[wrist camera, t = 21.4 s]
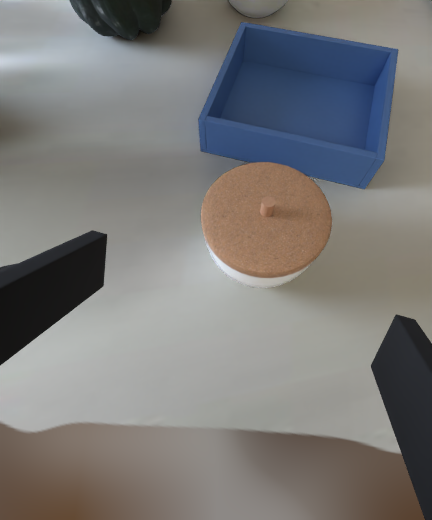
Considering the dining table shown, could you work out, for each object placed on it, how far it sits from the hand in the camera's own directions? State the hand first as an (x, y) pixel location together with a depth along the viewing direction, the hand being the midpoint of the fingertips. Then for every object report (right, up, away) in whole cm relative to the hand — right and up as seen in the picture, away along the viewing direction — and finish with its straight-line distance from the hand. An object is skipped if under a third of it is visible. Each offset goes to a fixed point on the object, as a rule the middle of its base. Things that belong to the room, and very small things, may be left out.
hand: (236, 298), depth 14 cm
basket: (+9, +20, +27) cm, 35 cm away
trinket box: (+3, +2, +19) cm, 20 cm away
